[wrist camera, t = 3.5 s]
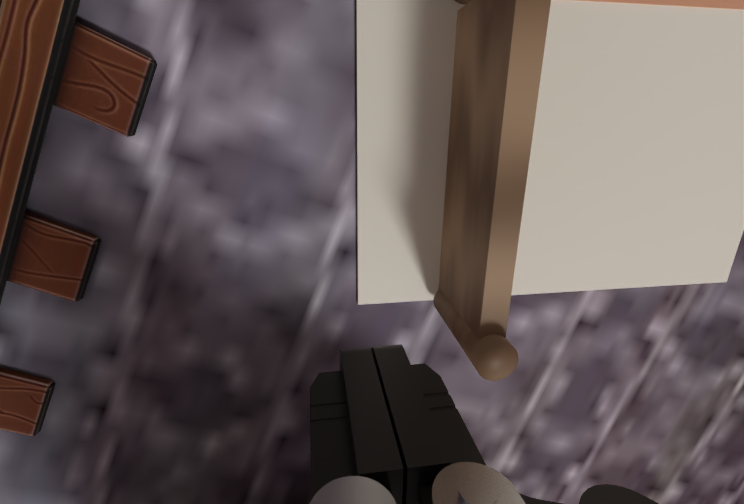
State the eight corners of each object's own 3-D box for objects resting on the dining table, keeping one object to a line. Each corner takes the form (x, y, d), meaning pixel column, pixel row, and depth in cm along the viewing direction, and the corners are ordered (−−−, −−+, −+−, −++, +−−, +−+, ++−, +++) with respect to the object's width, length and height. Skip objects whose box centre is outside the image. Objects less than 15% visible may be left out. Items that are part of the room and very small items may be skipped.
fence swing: (450, 10, 17) (522, -42, 12) (489, 12, 18) (577, -38, 12) (431, 312, 22) (474, 382, 16) (462, 310, 22) (515, 378, 17)
